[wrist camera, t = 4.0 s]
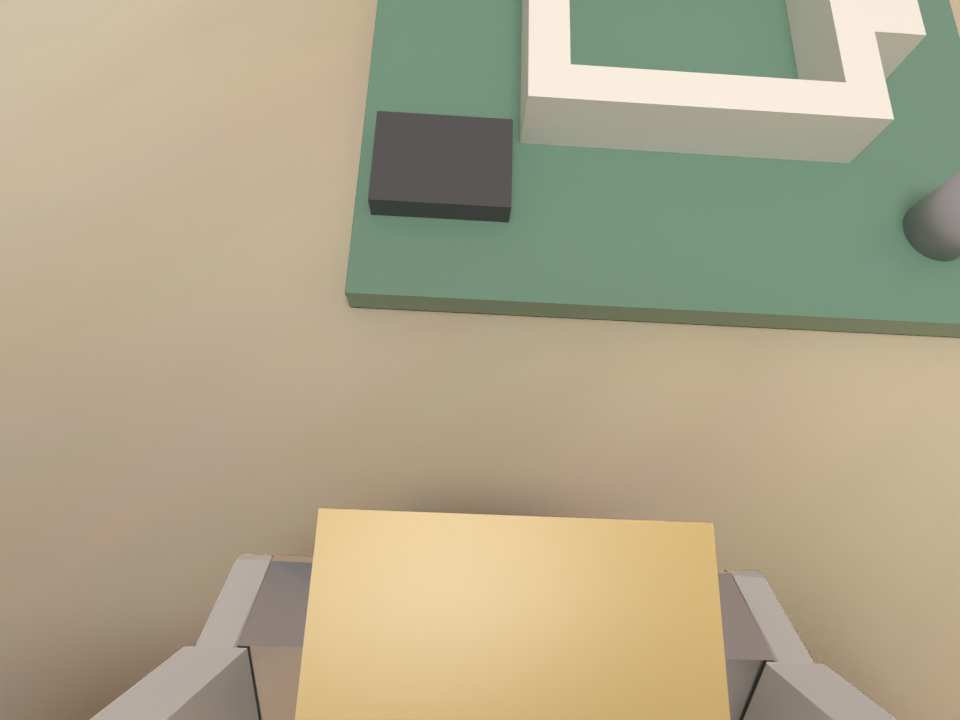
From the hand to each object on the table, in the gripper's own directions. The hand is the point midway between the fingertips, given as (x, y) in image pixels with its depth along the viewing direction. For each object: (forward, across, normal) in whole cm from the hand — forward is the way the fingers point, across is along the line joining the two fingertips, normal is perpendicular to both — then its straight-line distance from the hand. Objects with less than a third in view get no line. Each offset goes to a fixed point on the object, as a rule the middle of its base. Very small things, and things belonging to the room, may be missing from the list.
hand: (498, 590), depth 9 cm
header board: (+17, -6, -8) cm, 19 cm away
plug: (+4, 0, +5) cm, 6 cm away
